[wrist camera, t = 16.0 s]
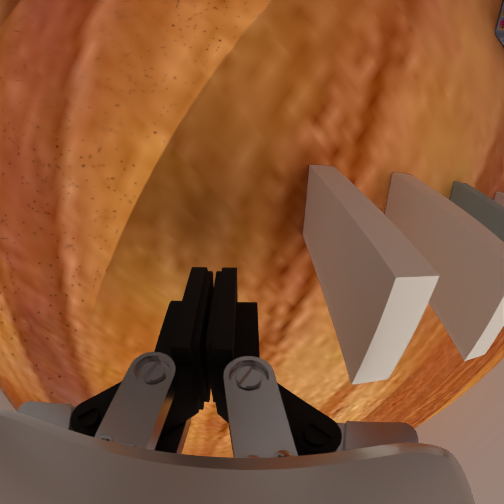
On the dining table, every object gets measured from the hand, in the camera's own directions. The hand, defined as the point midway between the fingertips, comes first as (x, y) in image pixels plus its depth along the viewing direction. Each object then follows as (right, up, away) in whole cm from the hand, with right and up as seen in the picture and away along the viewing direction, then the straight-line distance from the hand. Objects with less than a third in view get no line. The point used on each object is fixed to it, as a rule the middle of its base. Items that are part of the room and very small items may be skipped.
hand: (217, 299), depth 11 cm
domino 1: (+6, +5, +8) cm, 11 cm away
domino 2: (+12, +5, +8) cm, 15 cm away
